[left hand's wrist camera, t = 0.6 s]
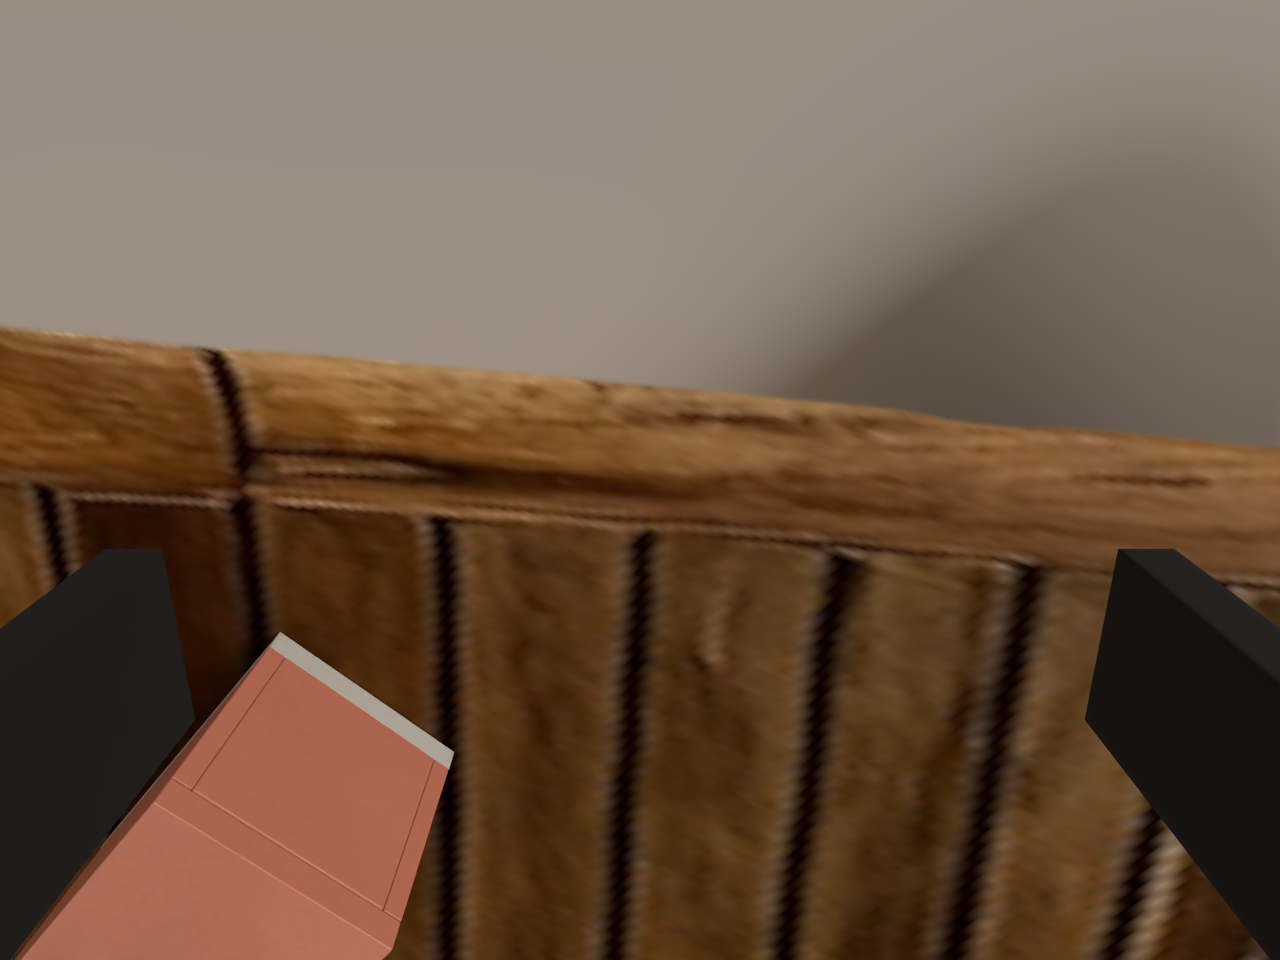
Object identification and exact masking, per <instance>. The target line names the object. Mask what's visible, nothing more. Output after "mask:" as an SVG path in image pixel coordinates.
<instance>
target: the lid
mask: <svg viewBox="0 0 1280 960" xmlns="http://www.w3.org/2000/svg"><path fill="white" fill-rule="evenodd" d="M399 926H400V922H399V921H397V920H396V919H394V918H392V917H391V916H389V915H388V914H386V913H384V912H383V911H381V910H380V909H378V908H376V907H375V906H373V905H372V904H370V903H368V902H367V901H365V900H364V899H362V898H361V897H359V896H357V895H356V894H354V893H353V892H351V891H349V890H348V889H346V888H345V887H343V886H341V885H340V884H338V883H337V882H335V881H333V880H332V879H330V878H329V877H327V876H326V875H324V874H322V873H321V872H319V871H318V870H316V869H314V868H313V867H311V866H310V865H308V864H306V863H305V862H303V861H302V860H300V859H298V858H297V857H295V856H294V855H292V854H291V853H289V852H287V851H286V850H284V849H283V848H281V847H279V846H278V845H276V844H275V843H273V842H271V841H270V840H268V839H267V838H265V837H263V836H262V835H260V834H259V833H257V832H256V831H254V830H252V829H251V828H249V827H248V826H246V825H244V824H243V823H241V822H240V821H238V820H236V819H235V818H233V817H232V816H230V815H228V814H227V813H225V812H224V811H222V810H221V809H219V808H217V807H216V806H214V805H213V804H211V803H209V802H208V801H206V800H205V799H203V798H201V797H200V796H198V795H197V794H195V793H193V792H192V791H190V790H189V789H187V788H186V787H184V786H182V785H181V784H179V783H178V782H176V781H174V780H173V779H170V780H169V781H168V782H167V783H166V785H165V786H164V787H163V788H162V789H161V791H160V792H159V793H158V794H157V795H156V797H155V798H154V799H153V800H152V801H151V802H150V804H149V805H148V806H147V807H146V808H145V810H144V811H143V812H142V813H141V814H140V816H139V817H138V818H137V819H136V820H135V821H134V823H133V824H132V825H131V826H130V827H129V829H128V830H127V831H126V832H125V833H124V835H123V836H122V837H121V838H120V839H119V841H118V842H117V843H116V844H115V845H114V846H113V848H112V849H111V850H110V851H109V852H108V854H107V855H106V856H105V857H104V858H103V860H102V861H101V862H100V863H99V864H98V865H97V867H96V868H95V869H94V870H93V871H92V873H91V874H90V875H89V876H88V877H87V879H86V880H85V881H84V882H83V883H82V885H81V886H80V887H79V888H78V889H77V890H76V892H75V893H74V894H73V895H72V896H71V898H70V899H69V900H68V901H67V902H66V904H65V905H64V906H63V907H62V908H61V909H60V911H59V912H58V913H57V914H56V915H55V917H54V918H53V919H52V920H51V921H50V923H49V924H48V925H47V926H46V927H45V929H44V930H43V931H42V932H41V933H40V934H39V936H38V937H37V938H36V939H35V940H34V942H33V943H32V944H31V945H30V946H29V948H28V949H27V950H26V951H25V952H24V953H23V955H22V956H21V957H20V958H19V959H18V960H382V959H383V958H384V957H385V956H386V955H388V954H389V953H390V952H391V951H392V948H393V945H394V942H395V939H396V935H397V932H398V929H399Z"/></svg>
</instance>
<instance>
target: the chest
mask: <svg viewBox="0 0 1280 960" xmlns="http://www.w3.org/2000/svg"><path fill="white" fill-rule="evenodd" d="M453 755H454V752H453V751H452V750H450V749H449V748H447V747H446V746H444V745H443V744H442V743H440V742H439V741H437V740H436V739H434V738H433V737H431V736H430V735H429V734H427V733H426V732H424V731H423V730H421V729H420V728H418V727H417V726H416V725H414V724H413V723H411V722H410V721H408V720H407V719H405V718H404V717H403V716H401V715H400V714H398V713H397V712H395V711H394V710H392V709H391V708H389V707H388V706H387V705H385V704H384V703H382V702H381V701H379V700H378V699H376V698H375V697H374V696H372V695H371V694H369V693H368V692H366V691H365V690H363V689H362V688H361V687H359V686H358V685H356V684H355V683H353V682H352V681H350V680H349V679H348V678H346V677H345V676H343V675H342V674H340V673H339V672H337V671H336V670H334V669H333V668H332V667H330V666H329V665H327V664H326V663H324V662H323V661H321V660H320V659H319V658H317V657H316V656H314V655H313V654H311V653H310V652H308V651H307V650H306V649H304V648H303V647H301V646H300V645H298V644H297V643H295V642H294V641H293V640H291V639H290V638H288V637H287V636H285V635H284V634H282V633H281V632H280V633H279V634H278V635H277V636H276V637H275V639H274V640H273V641H272V642H271V643H270V645H269V646H268V647H267V648H266V649H265V651H264V652H263V653H262V654H261V655H260V657H259V658H258V659H257V660H256V661H255V663H254V664H253V665H252V666H251V667H250V668H249V670H248V671H247V672H246V673H245V674H244V676H243V677H242V678H241V679H240V680H239V682H238V683H237V684H236V685H235V686H234V688H233V689H232V690H231V691H230V692H229V694H228V695H227V696H226V697H225V698H224V700H223V701H222V702H221V703H220V704H219V706H218V707H217V708H216V709H215V710H214V712H213V713H212V714H211V715H210V716H209V718H208V719H207V720H206V721H205V722H204V724H203V725H202V726H201V727H200V728H199V730H198V731H197V732H196V733H195V734H194V736H193V737H192V738H191V739H190V740H189V742H188V743H187V744H186V745H185V746H184V748H183V749H182V750H181V751H180V752H179V754H178V755H177V756H176V757H175V758H174V760H173V761H172V762H171V763H170V764H169V766H168V767H167V768H166V769H165V770H164V771H163V773H162V774H161V775H160V776H159V777H158V779H157V780H156V781H155V782H154V783H153V785H152V786H151V787H150V788H149V789H148V791H147V792H146V793H145V794H144V795H143V797H142V798H141V799H140V800H139V801H138V803H137V804H136V805H135V806H134V807H133V809H132V810H131V811H130V812H129V813H128V815H127V816H126V817H125V818H124V819H123V821H122V822H121V823H120V824H119V825H118V827H117V828H116V829H115V830H114V831H113V833H112V834H111V835H110V837H109V838H108V839H107V841H106V842H105V843H104V844H103V846H102V847H101V849H100V850H99V851H98V853H97V854H96V855H95V856H94V858H93V859H92V860H91V862H90V863H89V864H88V865H87V867H86V868H85V869H84V871H83V872H82V873H81V875H80V876H79V877H78V878H77V880H76V881H75V882H74V884H73V885H72V886H71V887H70V889H69V890H68V891H67V893H66V894H65V895H64V897H63V898H62V899H61V900H60V902H59V903H58V904H57V906H56V907H55V908H54V909H53V911H52V912H51V913H50V915H49V916H48V917H47V919H46V920H45V921H44V922H43V924H42V925H41V926H40V928H39V929H38V930H37V931H36V933H35V934H34V935H33V937H32V938H31V939H30V940H29V942H28V943H27V944H26V946H25V947H24V948H23V950H22V951H21V952H20V953H19V955H18V956H17V957H16V959H15V960H18V959H19V958H20V957H21V956H22V955H23V953H24V952H25V951H26V950H27V949H28V948H29V946H30V945H31V944H32V943H33V942H34V940H35V939H36V938H37V937H38V936H39V934H40V933H41V932H42V931H43V930H44V929H45V927H46V926H47V925H48V924H49V923H50V921H51V920H52V919H53V918H54V917H55V915H56V914H57V913H58V912H59V911H60V909H61V908H62V907H63V906H64V905H65V904H66V902H67V901H68V900H69V899H70V898H71V896H72V895H73V894H74V893H75V892H76V890H77V889H78V888H79V887H80V886H81V885H82V883H83V882H84V881H85V880H86V879H87V877H88V876H89V875H90V874H91V873H92V871H93V870H94V869H95V868H96V867H97V865H98V864H99V863H100V862H101V861H102V860H103V858H104V857H105V856H106V855H107V854H108V852H109V851H110V850H111V849H112V848H113V846H114V845H115V844H116V843H117V842H118V841H119V839H120V838H121V837H122V836H123V835H124V833H125V832H126V831H127V830H128V829H129V827H130V826H131V825H132V824H133V823H134V821H135V820H136V819H137V818H138V817H139V816H140V814H141V813H142V812H143V811H144V810H145V808H146V807H147V806H148V805H149V804H150V802H151V801H152V800H153V799H154V798H155V797H156V795H157V794H158V793H159V792H160V791H161V789H162V788H163V787H164V786H165V785H166V783H167V782H168V781H169V780H170V779H173V780H174V781H176V782H178V783H179V784H181V785H182V786H184V787H186V788H187V789H189V790H190V791H192V792H193V793H195V794H197V795H198V796H200V797H201V798H203V799H205V800H206V801H208V802H209V803H211V804H213V805H214V806H216V807H217V808H219V809H221V810H222V811H224V812H225V813H227V814H228V815H230V816H232V817H233V818H235V819H236V820H238V821H240V822H241V823H243V824H244V825H246V826H248V827H249V828H251V829H252V830H254V831H256V832H257V833H259V834H260V835H262V836H263V837H265V838H267V839H268V840H270V841H271V842H273V843H275V844H276V845H278V846H279V847H281V848H283V849H284V850H286V851H287V852H289V853H291V854H292V855H294V856H295V857H297V858H298V859H300V860H302V861H303V862H305V863H306V864H308V865H310V866H311V867H313V868H314V869H316V870H318V871H319V872H321V873H322V874H324V875H326V876H327V877H329V878H330V879H332V880H333V881H335V882H337V883H338V884H340V885H341V886H343V887H345V888H346V889H348V890H349V891H351V892H353V893H354V894H356V895H357V896H359V897H361V898H362V899H364V900H365V901H367V902H368V903H370V904H372V905H373V906H375V907H376V908H378V909H380V910H381V911H383V912H384V913H386V914H388V915H389V916H391V917H392V918H394V919H396V920H397V921H399V922H401V920H402V917H403V914H404V910H405V907H406V904H407V901H408V897H409V894H410V891H411V888H412V885H413V881H414V878H415V875H416V872H417V868H418V865H419V862H420V859H421V856H422V852H423V849H424V846H425V843H426V840H427V836H428V833H429V830H430V827H431V823H432V820H433V817H434V814H435V811H436V807H437V804H438V801H439V798H440V795H441V791H442V788H443V785H444V782H445V778H446V775H447V772H448V770H449V768H450V764H451V761H452V758H453Z"/></svg>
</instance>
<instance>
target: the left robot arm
mask: <svg viewBox="0 0 1280 960" xmlns="http://www.w3.org/2000/svg"><path fill="white" fill-rule="evenodd" d="M194 721H195V716H194V711H193V705H192V700H191V695H190V690H189V685H188V680H187V675H186V670H185V665H184V660H183V655H182V650H181V645H180V640H179V634H178V629H177V624H176V619H175V614H174V609H173V604H172V599H171V594H170V589H169V584H168V579H167V574H166V569H165V563H164V558H163V553H162V549H105V550H104V551H103V552H101V553H100V554H99V555H97V556H96V557H95V558H93V559H92V560H91V561H89V562H88V563H87V564H85V565H84V566H83V567H81V568H80V569H79V570H77V571H76V572H75V573H73V574H72V575H71V576H69V577H68V578H67V579H65V580H64V581H63V582H61V583H60V584H59V585H57V586H56V587H55V588H54V589H52V590H51V591H50V592H48V593H47V594H46V595H44V596H43V597H42V598H40V599H39V600H38V601H36V602H35V603H34V604H32V605H31V606H30V607H28V608H27V609H26V610H24V611H23V612H22V613H20V614H19V615H18V616H16V617H15V618H14V619H12V620H11V621H10V622H9V623H7V624H6V625H5V626H3V627H2V628H1V629H0V960H9V959H10V958H11V957H12V956H13V954H14V953H15V952H16V950H17V949H18V948H19V946H20V945H21V944H22V943H23V941H24V940H25V939H26V937H27V936H28V935H29V934H30V932H31V931H32V930H33V928H34V927H35V926H36V925H37V923H38V922H39V921H40V919H41V918H42V917H43V916H44V914H45V913H46V912H47V910H48V909H49V908H50V906H51V905H52V904H53V903H54V901H55V900H56V899H57V897H58V896H59V895H60V894H61V892H62V891H63V890H64V888H65V887H66V886H67V885H68V883H69V882H70V881H71V879H72V878H73V877H74V876H75V874H76V873H77V872H78V870H79V869H80V868H81V866H82V865H83V864H84V863H85V861H86V860H87V859H88V857H89V856H90V855H91V854H92V852H93V851H94V850H95V848H96V847H97V846H98V845H99V843H100V842H101V841H102V839H103V838H104V837H105V835H106V834H107V833H108V832H109V830H110V829H111V828H112V826H113V825H114V824H115V823H116V821H117V820H118V819H119V817H120V816H121V815H122V814H123V812H124V811H125V810H126V808H127V807H128V806H129V805H130V803H131V802H132V801H133V799H134V798H135V797H136V795H137V794H138V793H139V792H140V790H141V789H142V788H143V786H144V785H145V784H146V783H147V781H148V780H149V779H150V777H151V776H152V775H153V774H154V772H155V771H156V770H157V768H158V767H159V766H160V764H161V763H162V762H163V761H164V759H165V758H166V757H167V755H168V754H169V753H170V752H171V750H172V749H173V748H174V746H175V745H176V744H177V743H178V741H179V740H180V739H181V737H182V736H183V735H184V734H185V732H186V731H187V730H188V728H189V727H190V726H191V724H192V723H193V722H194ZM1085 721H1086V722H1087V723H1088V724H1089V726H1090V727H1091V728H1092V730H1093V731H1094V732H1095V734H1096V735H1097V736H1098V737H1099V739H1100V740H1101V741H1102V743H1103V744H1104V745H1105V746H1106V748H1107V749H1108V750H1109V752H1110V753H1111V754H1112V755H1113V757H1114V758H1115V759H1116V761H1117V762H1118V763H1119V764H1120V766H1121V767H1122V768H1123V770H1124V771H1125V772H1126V774H1127V775H1128V776H1129V777H1130V779H1131V780H1132V781H1133V783H1134V784H1135V785H1136V786H1137V788H1138V789H1139V790H1140V792H1141V793H1142V794H1143V795H1144V797H1145V798H1146V799H1147V801H1148V802H1149V803H1150V805H1151V806H1152V807H1153V808H1154V810H1155V811H1156V812H1157V814H1158V815H1159V816H1160V817H1161V819H1162V820H1163V821H1164V823H1165V824H1166V825H1167V826H1168V828H1169V829H1170V830H1171V832H1172V833H1173V834H1174V835H1175V837H1176V838H1177V839H1178V841H1179V842H1180V843H1181V845H1182V846H1183V847H1184V848H1185V850H1186V851H1187V852H1188V854H1189V855H1190V856H1191V857H1192V859H1193V860H1194V861H1195V863H1196V864H1197V865H1198V866H1199V868H1200V869H1201V870H1202V872H1203V873H1204V874H1205V876H1206V877H1207V878H1208V879H1209V881H1210V882H1211V883H1212V885H1213V886H1214V887H1215V888H1216V890H1217V891H1218V892H1219V894H1220V895H1221V896H1222V897H1223V899H1224V900H1225V901H1226V903H1227V904H1228V905H1229V906H1230V908H1231V909H1232V910H1233V912H1234V913H1235V914H1236V916H1237V917H1238V918H1239V919H1240V921H1241V922H1242V923H1243V925H1244V926H1245V927H1246V928H1247V930H1248V931H1249V932H1250V934H1251V935H1252V936H1253V937H1254V939H1255V940H1256V941H1257V943H1258V944H1259V945H1260V946H1261V948H1262V949H1263V950H1264V952H1265V953H1266V954H1267V956H1268V957H1269V958H1270V959H1271V960H1280V629H1279V628H1278V627H1277V626H1275V625H1274V624H1273V623H1271V622H1270V621H1269V620H1268V619H1266V618H1265V617H1264V616H1262V615H1261V614H1260V613H1258V612H1257V611H1256V610H1254V609H1253V608H1252V607H1250V606H1249V605H1248V604H1246V603H1245V602H1244V601H1242V600H1241V599H1240V598H1238V597H1237V596H1236V595H1234V594H1233V593H1232V592H1230V591H1229V590H1228V589H1226V588H1225V587H1224V586H1223V585H1221V584H1220V583H1219V582H1217V581H1216V580H1215V579H1213V578H1212V577H1211V576H1209V575H1208V574H1207V573H1205V572H1204V571H1203V570H1201V569H1200V568H1199V567H1197V566H1196V565H1195V564H1193V563H1192V562H1191V561H1189V560H1188V559H1187V558H1185V557H1184V556H1183V555H1181V554H1180V553H1179V552H1177V551H1176V550H1175V549H1118V553H1117V558H1116V563H1115V569H1114V574H1113V579H1112V584H1111V589H1110V594H1109V599H1108V604H1107V609H1106V614H1105V619H1104V624H1103V629H1102V634H1101V640H1100V645H1099V650H1098V655H1097V660H1096V665H1095V670H1094V675H1093V680H1092V685H1091V690H1090V695H1089V700H1088V705H1087V711H1086V716H1085Z"/></svg>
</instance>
